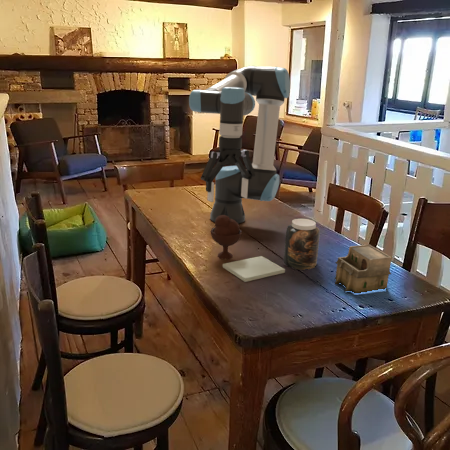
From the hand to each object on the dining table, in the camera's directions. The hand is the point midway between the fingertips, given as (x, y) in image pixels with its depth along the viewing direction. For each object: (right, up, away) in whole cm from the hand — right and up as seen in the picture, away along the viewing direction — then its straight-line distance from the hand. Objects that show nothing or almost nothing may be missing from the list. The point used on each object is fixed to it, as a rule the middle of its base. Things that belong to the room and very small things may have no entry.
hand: (227, 199), depth 168 cm
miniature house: (+42, -28, -11) cm, 51 cm away
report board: (+9, -24, -4) cm, 25 cm away
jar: (+25, -22, +4) cm, 34 cm away
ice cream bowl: (-1, -20, +7) cm, 21 cm away
